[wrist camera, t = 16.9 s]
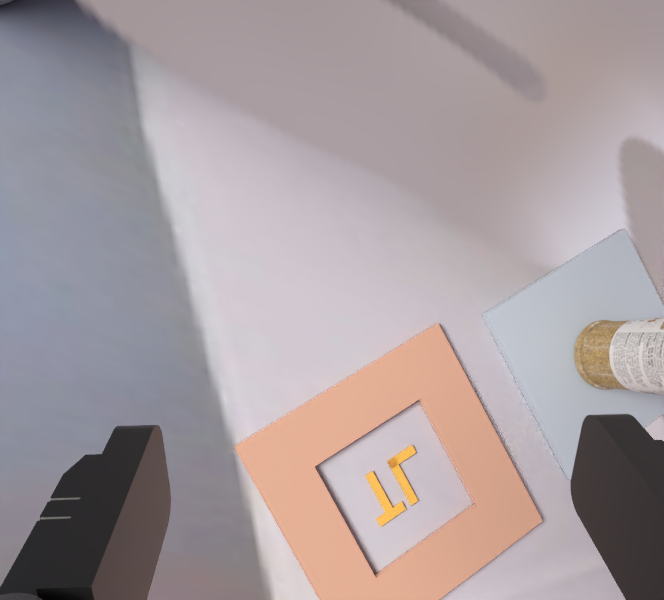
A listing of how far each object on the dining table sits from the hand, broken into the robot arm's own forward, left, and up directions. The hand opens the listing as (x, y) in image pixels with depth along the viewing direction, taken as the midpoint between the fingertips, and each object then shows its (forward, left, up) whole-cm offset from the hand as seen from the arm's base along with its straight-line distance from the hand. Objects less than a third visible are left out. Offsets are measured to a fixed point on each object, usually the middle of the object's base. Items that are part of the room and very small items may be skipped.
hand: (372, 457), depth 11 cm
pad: (+10, +21, -23) cm, 32 cm away
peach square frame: (+10, +5, -23) cm, 25 cm away
